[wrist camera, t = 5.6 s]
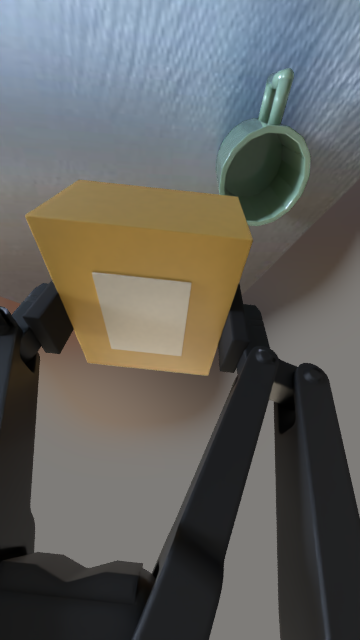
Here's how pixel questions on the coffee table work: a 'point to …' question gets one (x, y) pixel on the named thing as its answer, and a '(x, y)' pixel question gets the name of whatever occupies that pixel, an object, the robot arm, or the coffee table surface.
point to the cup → (265, 158)
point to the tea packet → (144, 270)
